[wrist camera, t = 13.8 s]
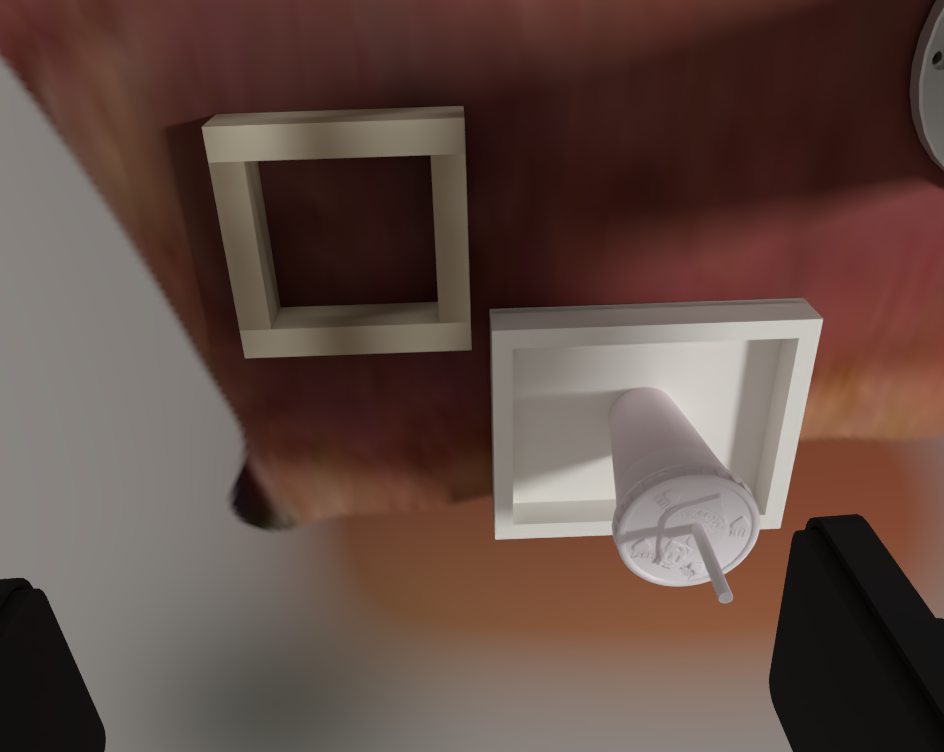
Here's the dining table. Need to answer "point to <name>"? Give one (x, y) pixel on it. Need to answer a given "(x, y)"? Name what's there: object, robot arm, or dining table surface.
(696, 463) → the smoothie
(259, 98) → the dining table surface
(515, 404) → the tray
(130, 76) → the dining table surface
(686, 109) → the dining table surface
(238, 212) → the frame
